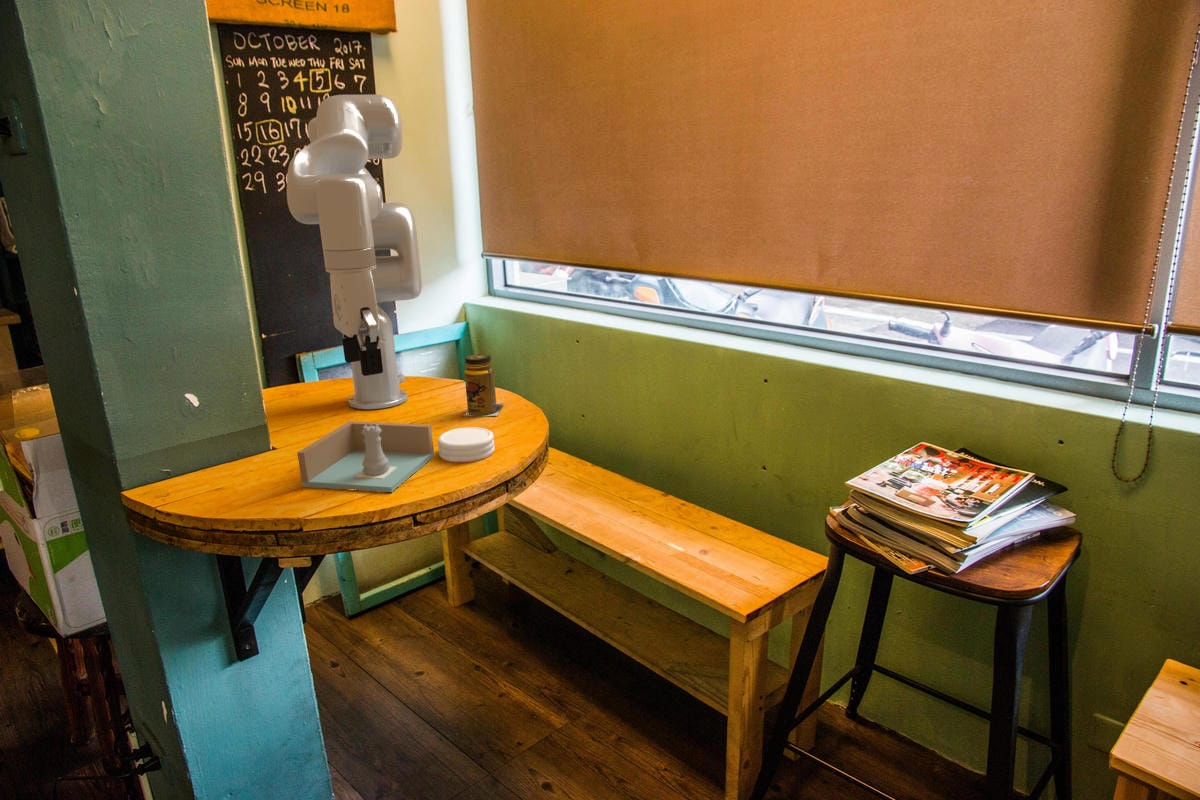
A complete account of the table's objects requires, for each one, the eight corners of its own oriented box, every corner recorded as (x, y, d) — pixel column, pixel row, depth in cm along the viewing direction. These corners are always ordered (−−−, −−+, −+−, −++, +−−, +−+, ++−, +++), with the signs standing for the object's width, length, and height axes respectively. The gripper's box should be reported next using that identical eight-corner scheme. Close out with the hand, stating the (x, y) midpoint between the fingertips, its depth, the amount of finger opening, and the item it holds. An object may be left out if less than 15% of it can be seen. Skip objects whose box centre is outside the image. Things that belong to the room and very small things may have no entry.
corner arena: (353, 452, 142) (349, 421, 140) (434, 456, 138) (431, 424, 137) (302, 486, 127) (297, 452, 125) (391, 493, 124) (387, 457, 122)
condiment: (462, 417, 160) (457, 360, 156) (471, 405, 168) (466, 351, 164) (497, 416, 159) (493, 360, 156) (504, 404, 168) (500, 350, 164)
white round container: (442, 445, 145) (440, 427, 144) (496, 442, 145) (495, 424, 144) (435, 465, 135) (433, 446, 134) (493, 462, 136) (491, 443, 135)
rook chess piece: (378, 464, 133) (372, 419, 130) (395, 469, 130) (390, 424, 128) (356, 472, 129) (350, 427, 127) (374, 478, 127) (368, 432, 124)
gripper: (312, 256, 124) (326, 360, 130) (340, 268, 110) (355, 384, 116) (358, 252, 128) (371, 353, 133) (391, 263, 114) (404, 375, 119)
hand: (363, 367), depth 125 cm, fingers open, 9 cm apart
